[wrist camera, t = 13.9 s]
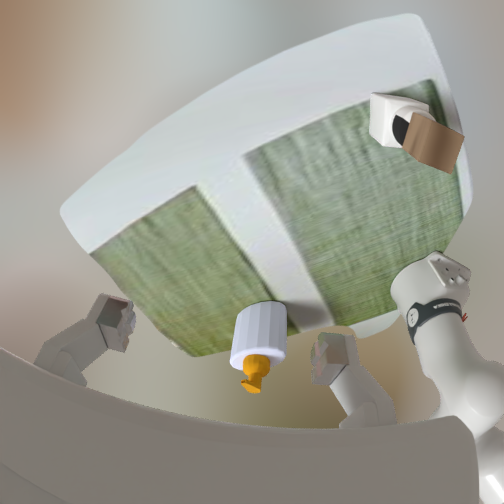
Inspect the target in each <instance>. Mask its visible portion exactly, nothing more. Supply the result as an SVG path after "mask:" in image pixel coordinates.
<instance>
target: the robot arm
mask: <svg viewBox="0 0 504 504" xmlns="http://www.w3.org/2000/svg"><path fill="white" fill-rule="evenodd" d="M470 276H471V271H470V270H469V269H468V268H467V267H465V266H463V265H461V264H460V263H458V262H456V261H454V260H453V259H451V258H449V257H447V256H445V255H443V254H442V253H440V252H438V251H435V252H433V253H431V254H430V255H428V256H427V257H426V258H424V259H422V260H419V261H416V262H414V263H412V264H410V265H408V266H407V267H405V268H404V269H403V270H402V271H401V272H400V273H399V274H398V275H397V276H396V278H395V279H394V281H393V283H392V286H391V296H392V298H393V300H394V301H395V303H396V304H397V308H398V311H399V313H401V314H402V316H403V318H404V320H405V321H406V324H407V326H408V331H409V334H410V338H411V340H412V342H413V344H414V345H415V346H416V349H417V352H418V356H419V359H420V363H421V367H422V370H423V373H424V374H425V376H427V377H428V378H431V379H432V380H433V381H434V383H435V385H436V386H437V388H438V390H439V393H440V398H441V403H440V405H439V406H438V408H437V409H436V410H435V411H434V413H433V414H432V415H431V417H430V418H429V420H424V421H418V422H411V423H404V424H397V421H396V415H395V409H394V404H393V400H392V399H391V398H390V397H389V395H388V394H387V393H386V392H385V391H384V390H383V388H382V387H381V386H380V385H379V384H378V382H377V381H376V380H375V379H374V378H373V377H372V375H371V374H370V373H369V372H368V371H367V370H366V369H365V367H364V366H360V361H359V356H358V351H357V346H356V341H355V337H354V336H353V335H344V334H335V333H324V332H322V333H320V334H319V336H318V341H317V342H316V343H314V345H313V347H312V350H311V363H312V365H313V366H314V368H313V370H312V372H311V373H312V384H320V385H330V388H331V389H332V391H333V392H334V394H335V395H336V397H337V398H338V400H339V402H340V403H341V405H342V406H343V408H344V410H345V411H346V413H347V414H348V417H347V418H346V419H344V420H343V421H342V422H341V423H340V424H339V429H296V428H278V427H277V428H276V427H263V426H253V425H243V424H235V423H228V422H221V421H215V420H209V419H203V418H197V417H191V416H187V415H182V414H177V413H173V412H168V411H163V410H160V409H155V408H152V407H148V406H144V405H140V404H137V403H133V402H130V401H126V400H123V399H120V398H116V397H114V396H110V395H107V394H104V393H101V392H98V391H96V390H93V389H90V388H87V387H86V385H87V380H86V379H85V377H84V376H83V374H82V373H81V371H83V370H84V369H85V368H86V367H87V366H89V365H90V364H91V363H92V362H93V361H94V360H96V359H97V358H98V357H99V356H101V355H102V354H103V353H104V352H105V351H107V350H108V349H112V350H116V351H120V352H125V350H126V348H127V345H128V343H129V338H128V336H129V335H130V334H132V333H133V330H134V328H135V323H136V315H135V313H134V312H133V310H132V309H133V306H134V305H133V301H130V300H126V299H122V298H119V297H115V296H111V295H108V294H104V293H101V294H100V295H99V296H98V297H97V299H96V301H95V302H94V304H93V306H92V308H91V310H90V312H89V313H88V315H87V317H86V319H85V320H84V319H82V320H80V321H78V322H77V323H75V324H74V325H72V326H70V327H68V328H67V329H65V330H64V331H62V332H60V333H59V334H57V335H55V336H54V337H52V338H51V339H49V340H47V341H46V342H44V344H43V346H42V348H41V350H40V352H39V354H38V356H37V358H36V360H35V362H34V364H31V363H29V362H27V361H25V360H23V359H21V358H20V357H18V356H16V355H14V354H12V353H10V352H8V351H7V350H5V349H3V348H1V347H0V504H479V497H480V498H481V500H482V501H483V503H484V504H504V432H503V431H501V430H499V429H498V428H496V427H495V425H496V424H497V423H498V421H499V420H500V419H501V417H502V416H503V415H504V365H502V364H501V363H498V362H496V361H487V360H485V359H484V358H483V357H482V356H481V355H480V354H479V353H478V351H477V350H476V348H475V347H474V345H473V343H472V341H471V339H470V337H469V335H468V333H467V331H466V328H465V326H464V324H463V322H464V321H465V319H466V318H467V317H466V318H465V316H466V313H465V314H464V316H463V317H462V311H461V310H462V308H463V307H464V305H465V303H466V302H467V300H468V297H469V294H470V290H469V287H468V282H469V280H470ZM464 318H465V319H464Z"/></svg>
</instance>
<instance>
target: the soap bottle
mask: <svg viewBox="0 0 504 504" xmlns="http://www.w3.org/2000/svg"><path fill="white" fill-rule="evenodd" d="M286 341H287V310H286V307H285V305H283V304H282V303H280V302H275V301H265V302H259V303H256V304H252V305H250V306H248V307H246V308H245V309H243V310H242V311H241V312H240V313H239V314H238V316H237V320H236V326H235V332H234V338H233V344H232V351H231V357H230V364H231V365H232V367H234V368H236V369H239V370H243V371H244V373H245V374H246V375H248V376H249V379H248V380H247V379H244V380H242V381H241V385H243V386H244V388H245V389H247V391H248V392H251V393H259V392H261V380H262V377H264V376H266V375H267V374H268V373H269V371H270V367H272V366H275V365H277V364H279V363H280V362H282V361H283V360H284V358H285V356H286V345H287V342H286Z"/></svg>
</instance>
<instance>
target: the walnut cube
mask: <svg viewBox="0 0 504 504" xmlns="http://www.w3.org/2000/svg"><path fill="white" fill-rule="evenodd" d="M463 140H464V136H463V135H461V134H459V133H457V132H456V131H454V130H452V129H450V128H448V127H446V126H444V125H442V124H440V123H438V122H436V121H433V120H431V119H429V118H427V117H424V116H422V115H420V114H417V113H415V112H413V113H412V116H411V120H410V123H409V127H408V130H407V133H406V137H405V140H404V143H403V146H402V148H403V149H404V150H405V151H406V152H408V153H409V154H410V155H411V156H412V157H414V158H415V159H416V160H417V161H418V162H421V163H424V164H426V165H429V166H432V167H434V168H437V169H439V170H442V171H444V172H446V173H449V174H451V173H452V171H453V168H454V165H455V163H456V160H457V157H458V154H459V152H460V149H461V146H462V143H463Z"/></svg>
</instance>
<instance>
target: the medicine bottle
mask: <svg viewBox="0 0 504 504" xmlns="http://www.w3.org/2000/svg"><path fill="white" fill-rule="evenodd" d="M413 112H415V113H417V114H420V115H422V116H424V117H427V118H429V119H431V120H433V121H435V119H434V118H433V117H432V115H430V114H429V105H427V104H425V103H422V102H419V101H416V100H414V99H411V98H406V97H400V96H393V95H386V94H378V93H371V101H370V127H369V134H370V135H371V136H372V137H373V138H374V139H376V140H377V141H378V142H379V143H380V144H381V145H382V146H386V147H396V148H402V146H403V143H404V140H405V137H406V133H407V130H408V127H409V123H410V120H411V116H412V113H413Z"/></svg>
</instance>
